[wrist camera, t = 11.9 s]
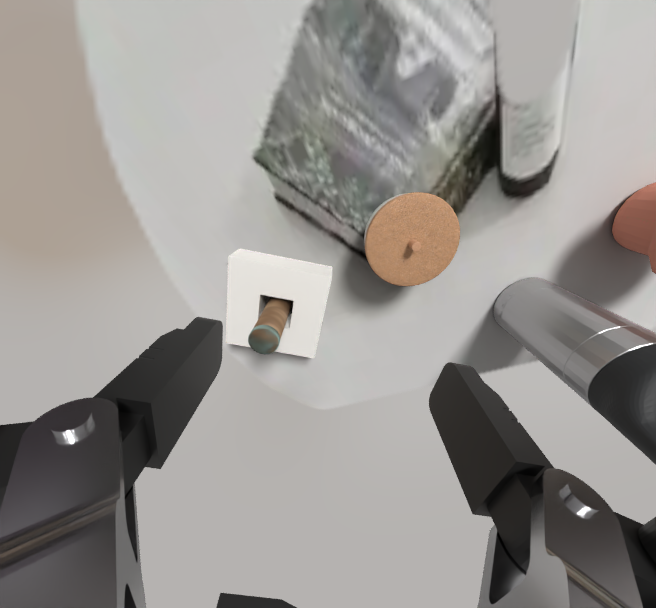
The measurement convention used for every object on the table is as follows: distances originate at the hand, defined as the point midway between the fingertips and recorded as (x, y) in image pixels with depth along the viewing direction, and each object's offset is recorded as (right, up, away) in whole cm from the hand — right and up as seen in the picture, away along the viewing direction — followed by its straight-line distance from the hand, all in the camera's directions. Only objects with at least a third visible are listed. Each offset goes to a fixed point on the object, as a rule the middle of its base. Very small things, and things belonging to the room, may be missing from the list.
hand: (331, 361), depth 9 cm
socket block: (-8, +3, +32) cm, 33 cm away
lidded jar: (+10, +12, +27) cm, 32 cm away
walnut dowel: (-8, +3, +32) cm, 33 cm away
